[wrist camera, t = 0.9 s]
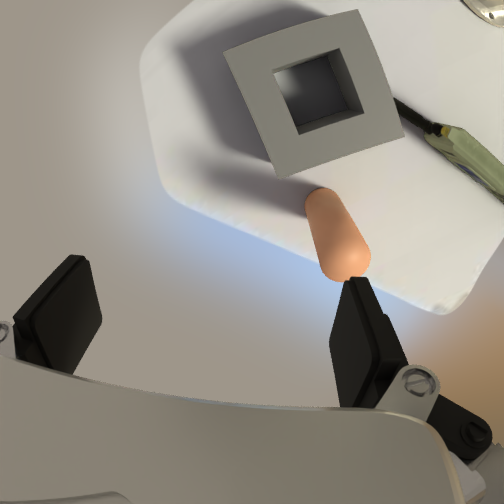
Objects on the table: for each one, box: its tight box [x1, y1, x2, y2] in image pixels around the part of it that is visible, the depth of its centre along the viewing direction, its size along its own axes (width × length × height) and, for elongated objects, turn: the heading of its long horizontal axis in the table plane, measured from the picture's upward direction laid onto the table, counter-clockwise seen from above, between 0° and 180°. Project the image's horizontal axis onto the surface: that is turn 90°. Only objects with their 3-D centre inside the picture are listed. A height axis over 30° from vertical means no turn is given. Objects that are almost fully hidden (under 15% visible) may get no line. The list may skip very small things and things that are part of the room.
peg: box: [305, 188, 371, 282], centre depth 29 cm, size 4×4×12 cm
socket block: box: [222, 9, 405, 180], centre depth 26 cm, size 12×12×6 cm
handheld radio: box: [393, 98, 504, 204], centre depth 28 cm, size 7×3×25 cm
